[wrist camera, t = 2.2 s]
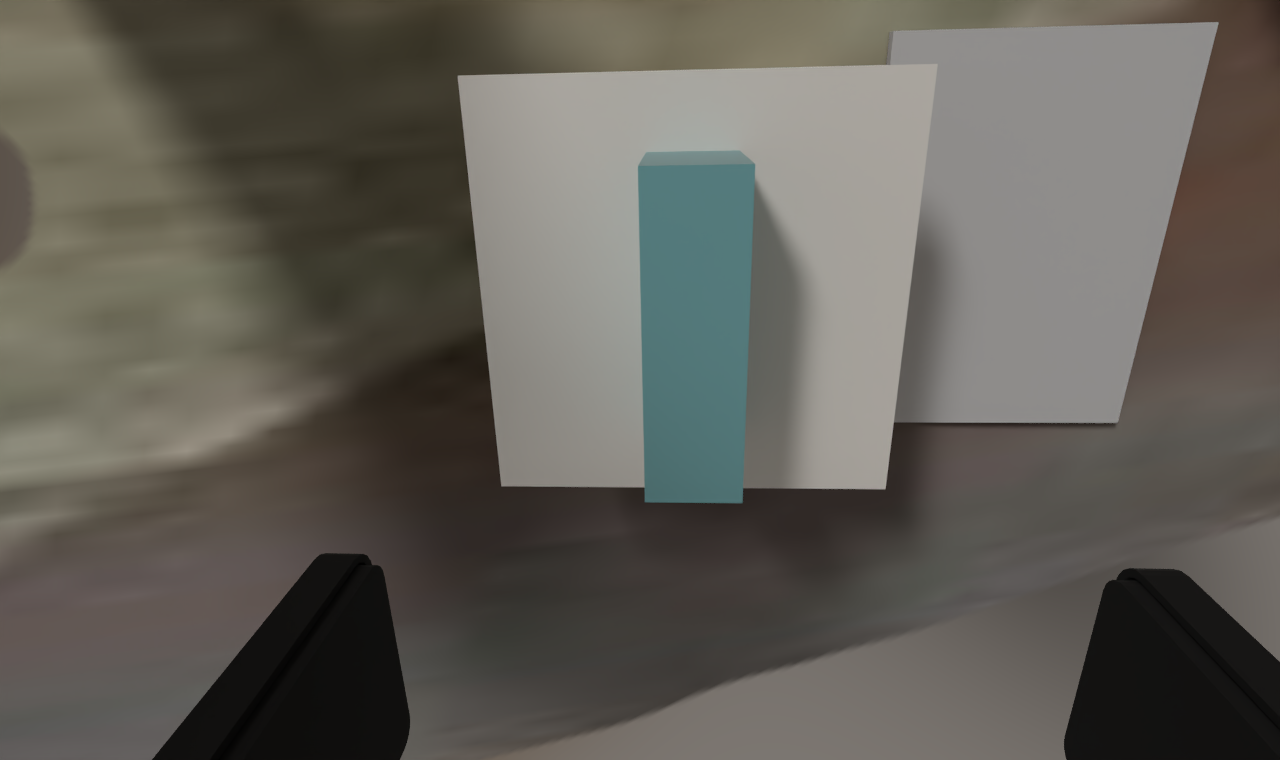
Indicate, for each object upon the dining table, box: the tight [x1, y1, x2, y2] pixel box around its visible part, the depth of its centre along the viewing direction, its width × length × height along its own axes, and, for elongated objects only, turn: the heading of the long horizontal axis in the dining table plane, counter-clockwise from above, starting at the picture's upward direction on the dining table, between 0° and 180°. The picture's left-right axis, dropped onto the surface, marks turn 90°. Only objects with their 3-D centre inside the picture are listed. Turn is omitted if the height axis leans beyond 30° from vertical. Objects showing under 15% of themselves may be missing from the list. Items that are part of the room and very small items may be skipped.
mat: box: [886, 22, 1219, 423], centre depth 33 cm, size 18×13×1 cm
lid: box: [458, 64, 938, 503], centre depth 23 cm, size 15×15×7 cm
